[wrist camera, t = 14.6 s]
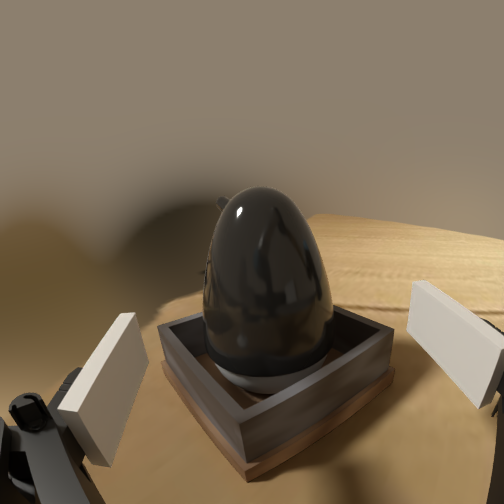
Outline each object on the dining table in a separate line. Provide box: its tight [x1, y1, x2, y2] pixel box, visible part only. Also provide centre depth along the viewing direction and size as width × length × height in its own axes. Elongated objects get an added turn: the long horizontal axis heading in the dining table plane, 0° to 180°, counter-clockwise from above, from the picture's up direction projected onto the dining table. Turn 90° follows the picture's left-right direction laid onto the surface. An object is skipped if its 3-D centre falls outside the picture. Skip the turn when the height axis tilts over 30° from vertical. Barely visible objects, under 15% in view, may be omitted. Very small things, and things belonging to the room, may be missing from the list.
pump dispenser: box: [203, 186, 335, 394], centre depth 23 cm, size 10×10×15 cm
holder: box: [157, 305, 395, 482], centre depth 25 cm, size 15×15×6 cm
